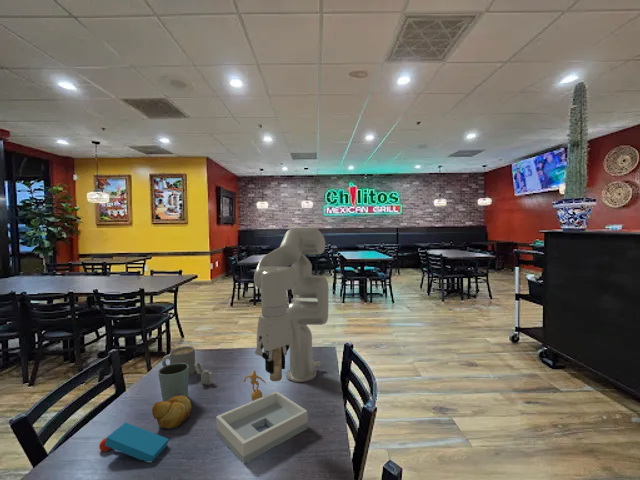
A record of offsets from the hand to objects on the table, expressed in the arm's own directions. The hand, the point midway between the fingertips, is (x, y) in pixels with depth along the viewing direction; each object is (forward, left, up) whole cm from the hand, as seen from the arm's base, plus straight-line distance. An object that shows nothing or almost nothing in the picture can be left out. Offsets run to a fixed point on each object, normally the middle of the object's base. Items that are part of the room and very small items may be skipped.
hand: (275, 369), depth 96 cm
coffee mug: (+8, -64, -19) cm, 68 cm away
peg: (0, 0, -3) cm, 3 cm away
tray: (+3, -3, -19) cm, 20 cm away
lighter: (+4, -47, -19) cm, 51 cm away
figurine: (-4, -19, -19) cm, 27 cm away
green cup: (+17, -41, -19) cm, 49 cm away
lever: (+35, -21, -20) cm, 46 cm away
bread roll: (+21, -28, -20) cm, 40 cm away
